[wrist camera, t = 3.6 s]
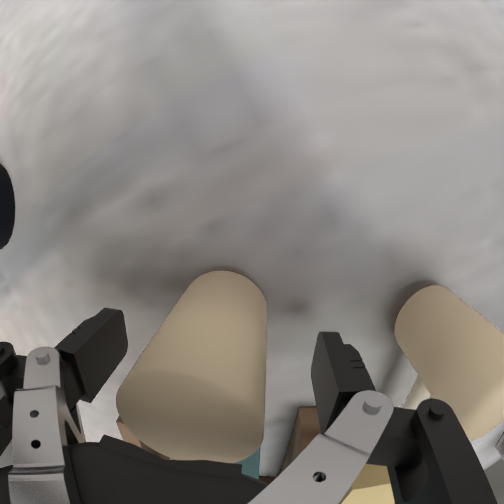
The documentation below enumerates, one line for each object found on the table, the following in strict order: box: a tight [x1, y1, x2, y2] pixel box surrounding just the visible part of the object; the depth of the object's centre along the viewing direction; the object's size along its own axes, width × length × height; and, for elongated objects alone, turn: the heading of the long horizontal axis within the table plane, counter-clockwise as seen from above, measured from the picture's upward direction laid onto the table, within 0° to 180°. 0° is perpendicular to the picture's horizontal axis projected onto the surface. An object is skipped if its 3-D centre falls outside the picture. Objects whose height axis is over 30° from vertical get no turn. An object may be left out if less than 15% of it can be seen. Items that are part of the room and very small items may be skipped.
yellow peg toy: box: [338, 285, 504, 504], centre depth 11 cm, size 18×5×8 cm, turn 176°
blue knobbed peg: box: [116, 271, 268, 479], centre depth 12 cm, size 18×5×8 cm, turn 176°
